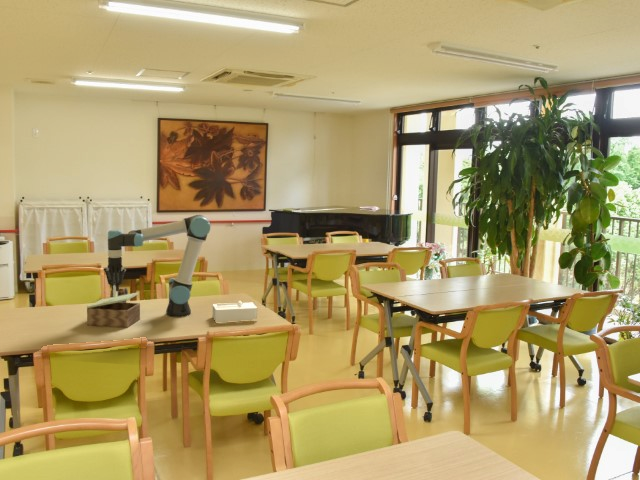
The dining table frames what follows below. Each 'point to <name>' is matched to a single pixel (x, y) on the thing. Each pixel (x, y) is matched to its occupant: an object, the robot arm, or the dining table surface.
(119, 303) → the box
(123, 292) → the mug
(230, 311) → the tissue box
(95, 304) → the lid
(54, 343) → the dining table surface
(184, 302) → the robot arm
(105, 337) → the dining table surface
